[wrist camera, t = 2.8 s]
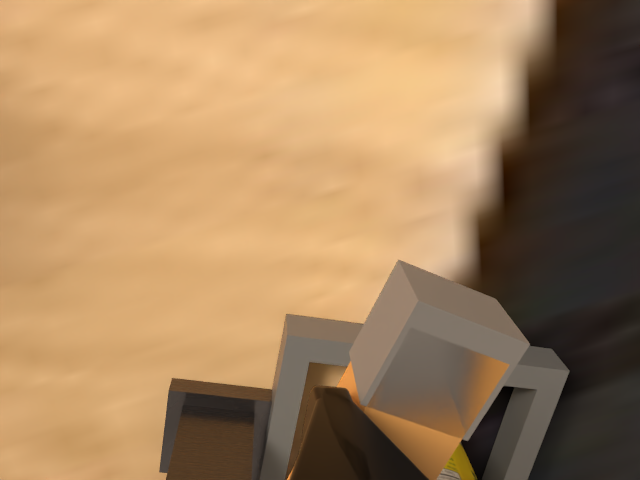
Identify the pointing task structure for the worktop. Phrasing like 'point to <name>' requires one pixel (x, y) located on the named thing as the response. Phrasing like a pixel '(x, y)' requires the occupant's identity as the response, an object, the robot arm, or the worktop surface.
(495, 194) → the worktop surface
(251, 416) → the clip post
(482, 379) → the bar
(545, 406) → the collar
